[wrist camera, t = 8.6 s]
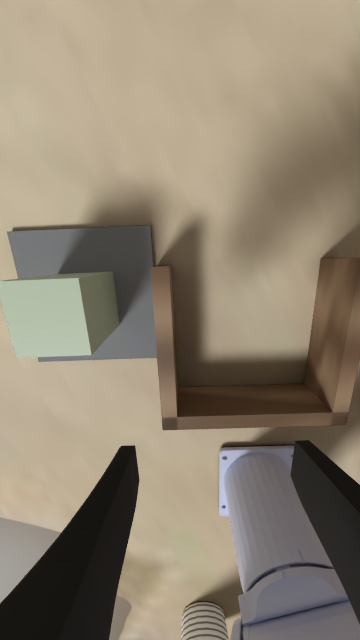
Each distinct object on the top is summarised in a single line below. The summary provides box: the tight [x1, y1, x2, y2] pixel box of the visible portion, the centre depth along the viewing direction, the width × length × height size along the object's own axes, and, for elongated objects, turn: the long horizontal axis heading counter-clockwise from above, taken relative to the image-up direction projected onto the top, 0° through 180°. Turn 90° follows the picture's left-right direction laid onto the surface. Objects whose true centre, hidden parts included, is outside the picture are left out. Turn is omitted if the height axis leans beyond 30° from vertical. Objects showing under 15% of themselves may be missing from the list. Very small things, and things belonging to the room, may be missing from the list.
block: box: [0, 272, 120, 358], centre depth 15 cm, size 4×4×6 cm
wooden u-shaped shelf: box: [150, 258, 360, 430], centre depth 17 cm, size 13×14×4 cm
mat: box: [7, 225, 157, 362], centre depth 18 cm, size 11×11×1 cm
